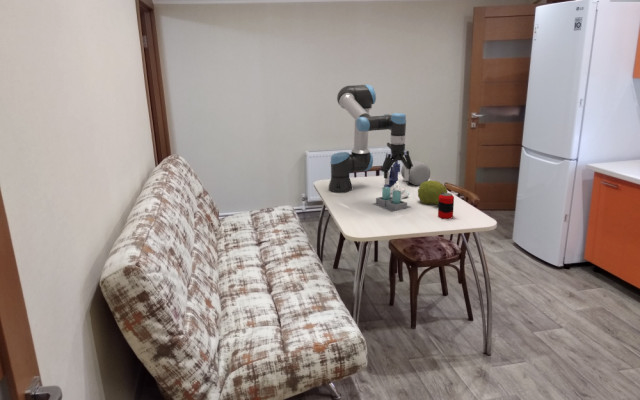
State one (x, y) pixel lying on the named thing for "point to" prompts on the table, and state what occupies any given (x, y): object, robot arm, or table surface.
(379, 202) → the housing
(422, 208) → the table surface
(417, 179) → the grey rounded lump
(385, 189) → the jaw pin
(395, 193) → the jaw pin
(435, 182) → the fruit
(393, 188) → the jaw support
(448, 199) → the soda can
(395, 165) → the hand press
